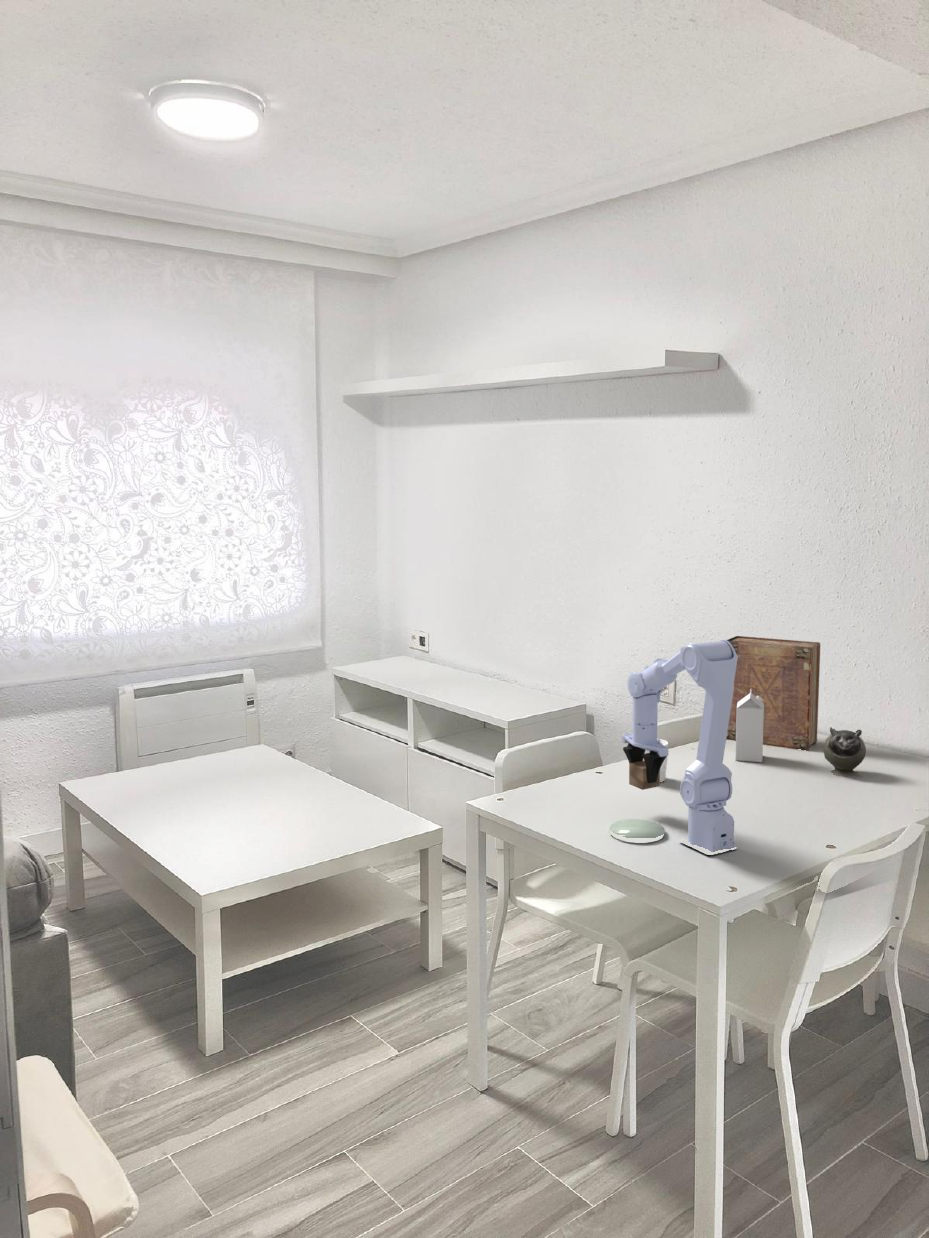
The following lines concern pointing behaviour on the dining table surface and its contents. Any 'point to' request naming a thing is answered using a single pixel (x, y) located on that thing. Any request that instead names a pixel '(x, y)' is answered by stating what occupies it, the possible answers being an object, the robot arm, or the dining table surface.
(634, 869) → the dining table surface
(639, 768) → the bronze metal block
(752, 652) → the book
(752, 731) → the milk carton
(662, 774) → the white cup
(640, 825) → the pale green domed disc
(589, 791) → the dining table surface
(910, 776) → the dining table surface
